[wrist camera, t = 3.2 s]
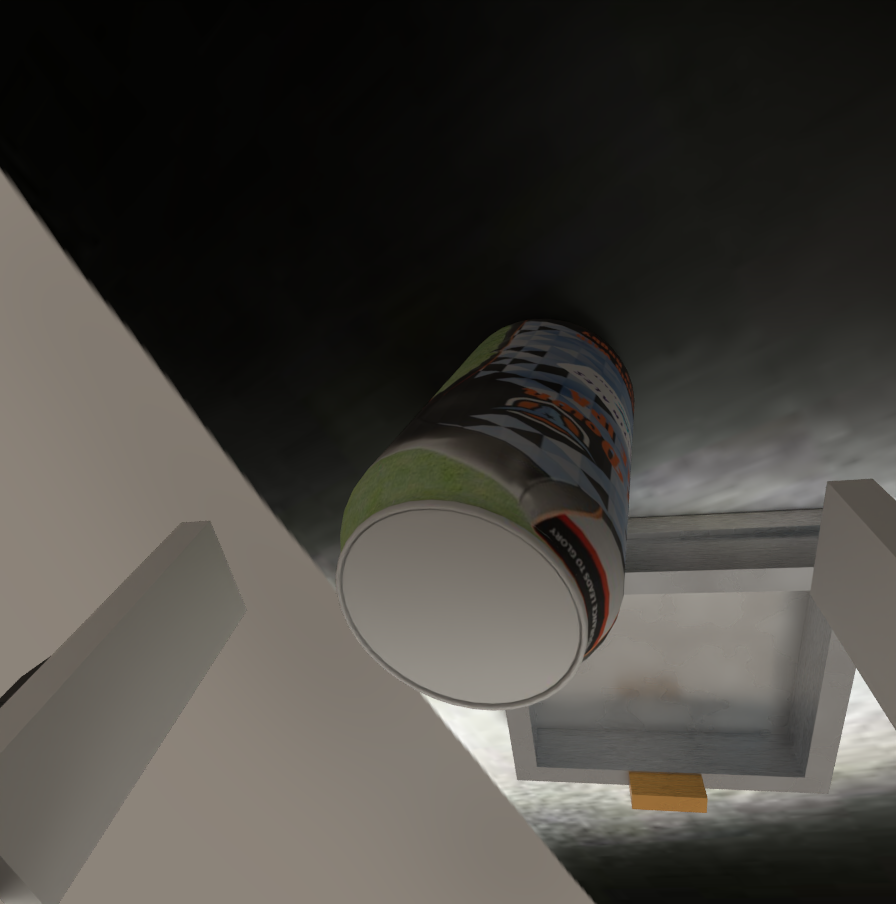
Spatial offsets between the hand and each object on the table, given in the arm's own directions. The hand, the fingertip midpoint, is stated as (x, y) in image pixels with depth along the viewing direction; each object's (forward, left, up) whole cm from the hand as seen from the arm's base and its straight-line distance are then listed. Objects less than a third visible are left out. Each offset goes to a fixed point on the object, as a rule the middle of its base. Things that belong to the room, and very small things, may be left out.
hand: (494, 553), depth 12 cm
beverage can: (0, 0, -10) cm, 10 cm away
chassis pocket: (+12, +5, -10) cm, 16 cm away
